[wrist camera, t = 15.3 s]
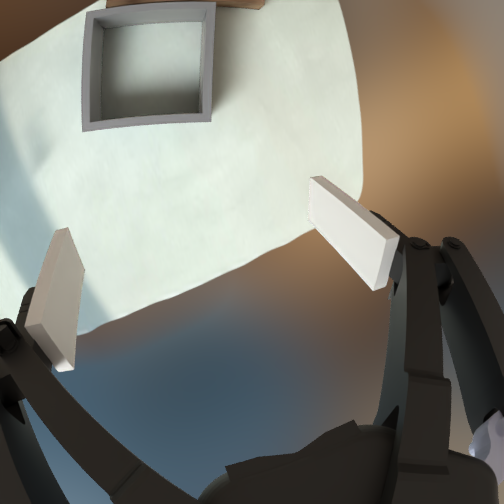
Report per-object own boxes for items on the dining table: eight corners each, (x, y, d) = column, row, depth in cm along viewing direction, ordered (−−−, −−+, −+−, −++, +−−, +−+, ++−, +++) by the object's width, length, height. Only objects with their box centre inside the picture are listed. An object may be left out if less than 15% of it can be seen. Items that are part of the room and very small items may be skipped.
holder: (95, 128, 34) (82, 132, 29) (97, 23, 28) (86, 12, 22) (206, 119, 38) (211, 121, 32) (210, 15, 31) (216, 2, 26)
